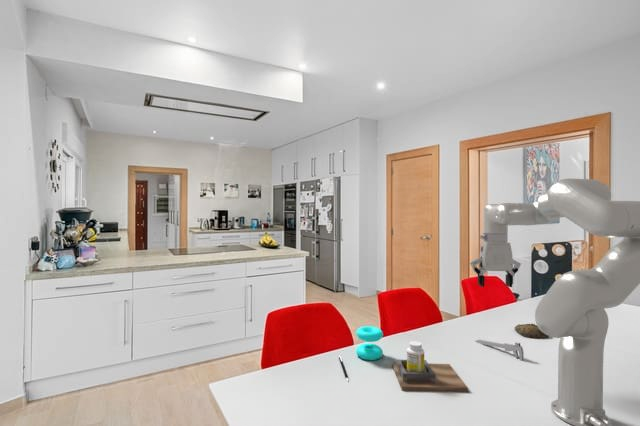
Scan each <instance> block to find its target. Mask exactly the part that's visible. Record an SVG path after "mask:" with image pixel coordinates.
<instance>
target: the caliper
mask: <svg viewBox="0 0 640 426" xmlns="http://www.w3.org/2000/svg"><path fill="white" fill-rule="evenodd" d="M474 342H476V343H478V344H480V345H485V346H489V347H495V348H500V349H504V351H505V352H512V353H513V355H514V358H515V359H519V360H520V361H523V360H524V357H525V356H524V349H523V346H522V345H521V342H515V343H514V344H513V343H506V342H505V343H500V342H497V341H489V340H485V339H484V340H483V339H480V338H479V339H477V340H474Z"/></svg>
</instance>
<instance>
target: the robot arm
mask: <svg viewBox="0 0 640 426" xmlns="http://www.w3.org/2000/svg"><path fill="white" fill-rule="evenodd" d="M611 197H612V191H611V189H610V187H609V186H608V185H607V184H606V183H604V182H603V181H600V180H597V179H593V178H592V179H591V178H563V179H560V180H557V181H556V182H553V184H552V185H551V186H550V187H549V188H548V190H545V191H543V192H541V193H540V194H539V195H538V197H537V201H534V202H527V203H526V202H503V203H490V204H489V203H488V204H485V206H484V208H483V211H484V212H483V219H484V221H483V234H481V235H480V236H479V238H480V239H481V240H483V241H482V242H481V246H480V251H479V258H476V259H475V260H473V261H470V263H469V264H470V266H471V268H472V270H473V271H474V272H475V273H476V274H477V284H478V286H480V287H482V288H484V287H485V281H486V280H485V279H486V276H485V275H484V274H485V273H486V272H487V271H488V272H505V273H506V274H505V286H506V287H509V288H513V284H514V276H515V275H516V273H517V272H519V269H520V267H521V263H520V262H518V261H517V260H515V259H513V258H514V257H513V251H512V246H511V243H510V242H509V241H508V237H509V236H508V233H509V231H508V226H532V225H538V224H545V223H549V222H553V221H554V220H557V219H560V218H561V219H562V218H566V219H567V220H569V221H570V222H572V223H573V224H575V225H577V226H578V227H579V228H581V229H583V230H584V231H585V232H587V233H589V234H590V235H593V236H597V237H601V238H610V239H611V238H623V239H622V240H620V241H619V242H617V244H615V245H614V246H613V247H611V248H610V249H609V250H607V252H606V253H605V254H604V255H603V257H602V258H601V259H600V260H599V261H598V263H596V264H595V266H593V267H592V268H590V269H589V268H588V269H580V270H579V269H578V270H577V269H576V270H570V271H567V272H564V273H563V274H561V275H560V276H558V278H556V280H555V281H554V282H553V284H552V285H550V287H549V289H548V290H547V292H546V293H545V294H544V295H543V297H542V298H541V300H540V302H538V304H537V306H536V308H535V312H534V321H535V325H537V326H538V328H539V329H540V330H541V331H542V332H543V333H544V334H546V335H548V336H549V337H551V338H557V339H560V340H559V343H558V357H557V358H558V363H557V364H558V367H557V371H558V372H557V374H558V375H557V378H558V379H557V380H558V381H557V399H555V400H553V401H552V402H551V403H550V408H551V412H552V413H553V414H554V415H555V416H557V418H559V419H560V420H561V421H564V422H565V423H567V424H570V425H572V426H613V424H612V422H611V419H610V417H609V416H607V414H606V410H605V409H604V407H603V406H604V404H603V403H604V354H605V353H604V352H605V342H606V337H607V335H608V334H607V333H608V329H609V323H610V322H609V316H608V313H607V311H606V310H605V309H611V308H615V307H618V306H619V305H622V303H624V302H625V300H626V299H628V297H629V296H630V295H631V294H632V293H633V292H634V290H635V289H637V287H639V285H640V200H611V199H612V198H611ZM477 265H479V268H478V267H477Z"/></svg>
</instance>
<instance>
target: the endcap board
mask: <svg viewBox="0 0 640 426" xmlns="http://www.w3.org/2000/svg"><path fill="white" fill-rule="evenodd" d="M391 364H392V365H391V367H392V370H393V369H394V370H393V372H394V374H395V377H396V380H397V382H398V384H399V386H400V389H401V391H416V392H417V391H419V392H420V391H421V392H422V391H425V392H465V393H466V392H467V393H468V391H469V387H468V386H467V385H466V383H465V382H464V381H463V380H462V378H461V377H460V376H459V375H458V373H457V372H456V371H455V369H454V368H453V367H452V365H451V364H449V363H429V362H428V361H427V360H426V359H424V372H407V359H396V362H392V363H391Z"/></svg>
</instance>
